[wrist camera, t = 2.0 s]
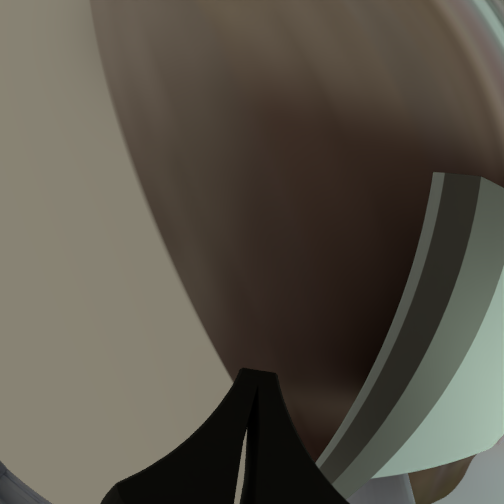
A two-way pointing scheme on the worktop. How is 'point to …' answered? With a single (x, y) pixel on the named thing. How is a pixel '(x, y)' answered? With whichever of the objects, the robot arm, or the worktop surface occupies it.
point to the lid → (435, 348)
